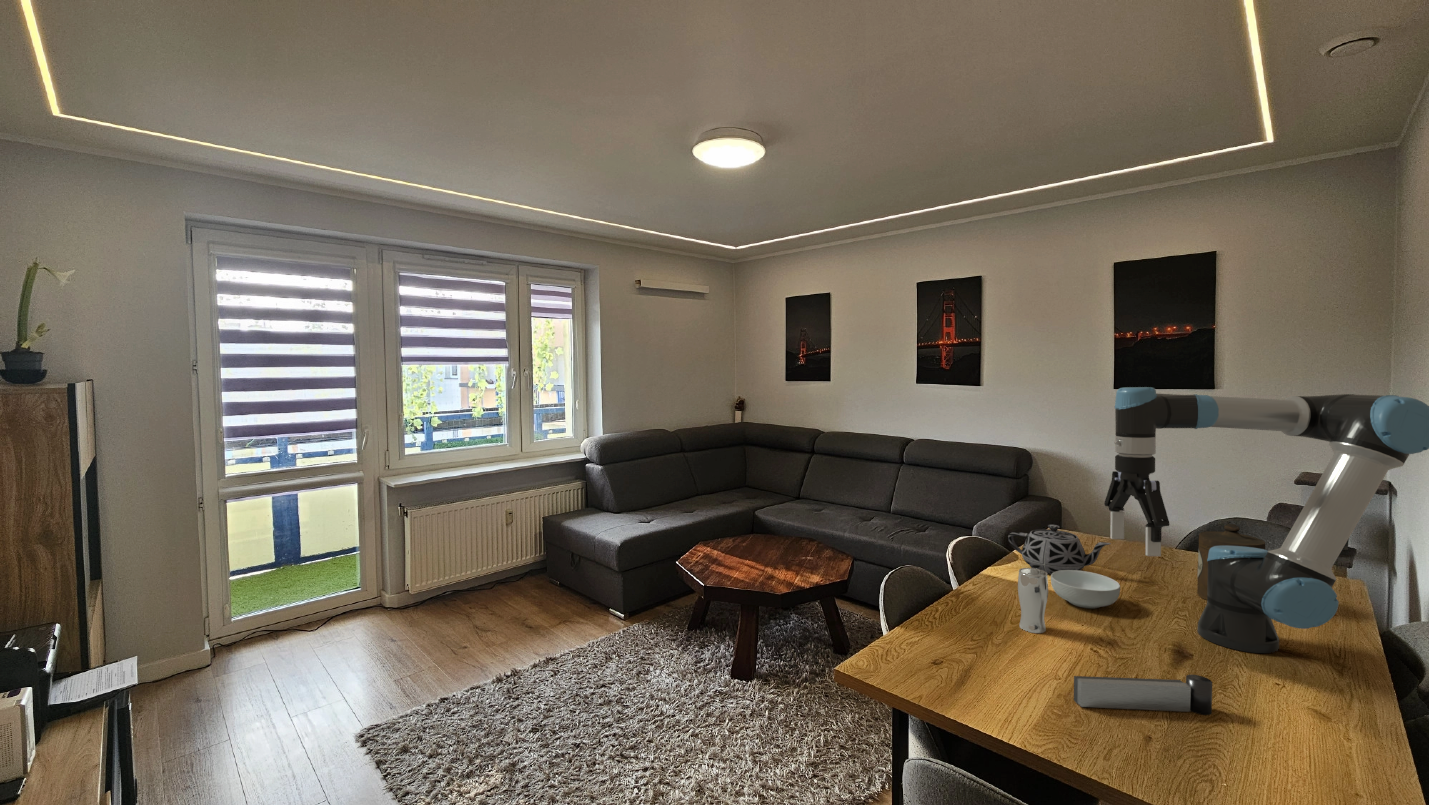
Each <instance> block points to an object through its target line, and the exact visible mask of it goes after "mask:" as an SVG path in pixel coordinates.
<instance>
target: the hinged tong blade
mask: <svg viewBox="0 0 1429 805" xmlns="http://www.w3.org/2000/svg"><path fill="white" fill-rule="evenodd" d="M1190 699H1191V687H1190V686H1189V685H1188V684H1187V683H1186V682H1183V683H1179V682H1154V681H1130V680H1106V679H1081V678H1078V697H1077V703H1078V704H1077V703H1076V704H1077V705H1079V706H1080V707H1081V708H1099V709H1100V708H1103V709H1104V708H1105V709H1123V710H1124V709H1125V710H1141V711H1142V710H1144V711H1145V710H1146V711H1148V710H1149V711H1164V712H1165V711H1167V712H1187V713H1188V712H1191V711H1190Z"/></svg>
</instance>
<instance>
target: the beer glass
mask: <svg viewBox="0 0 1429 805" xmlns="http://www.w3.org/2000/svg"><path fill="white" fill-rule="evenodd" d="M1017 577H1018V578H1017V592H1018V593H1017V594H1018V595H1017V596H1018V601H1019V605H1020V621H1019V629H1021V630H1022V629H1023V631H1024V630H1025V631H1024V632H1027V631H1028V632H1027V633H1032V634H1043V633H1045V632H1046V631H1047V630H1046V627H1047V626H1046V624H1045V623H1046V622H1045V612H1046V608H1047V607H1046V606H1047V603H1048V596H1049V580H1048V578H1049V577H1048V573H1046V572H1045V571H1043V570H1040V569H1035V568H1031V567H1021V568H1020V569H1018V576H1017Z"/></svg>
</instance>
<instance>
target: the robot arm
mask: <svg viewBox="0 0 1429 805" xmlns="http://www.w3.org/2000/svg"><path fill="white" fill-rule="evenodd" d="M1114 401H1115V402H1114V409H1115V410H1114V411H1115V414H1114V416H1115V440H1114V441H1113V442H1114V444H1115V451H1114V452H1116V453H1117V454H1116V455H1115V457H1114V469H1115V470H1116V471H1115V470H1114V471H1112V472H1111V480H1110V483H1109V488H1108V490H1107V492H1106V496H1105V500H1104V506H1105V507H1108V511H1110V526H1109V527H1110V528H1109V529H1110V539H1112V540H1125V505H1127V502H1128V501H1129V499H1130V497H1133V498H1134V499H1135V501H1136V500H1137V501H1138V503H1139V506H1140V509H1141V511H1142V513H1143V515H1144V518H1145V520H1146V522H1147V523H1146V524H1145V556H1147V557H1162V550H1161V549H1162V528H1163V527H1164V528H1165V527H1170V520H1169V517H1168V514H1167V510H1166V506H1165V502H1164V499H1163V496H1162V492H1161V483H1160V480H1151V478H1150V475H1151V474H1155V473H1156V457H1155V456H1153V455H1156V453H1157V452H1156V451H1157V450H1156V449H1157V448H1156V447H1157V446H1156V444H1157V443H1156V439H1157V438H1156V437H1157V436H1156V435H1157V434H1156V431H1157V429H1158V430H1159V429H1194V430H1197V429H1204V428H1206V429H1207V428H1223V429H1236V430H1237V429H1238V430H1256V431H1274V432H1275V431H1276V432H1281V433H1282V434H1285V436H1290V437H1302V438H1309V439H1314V440H1320V441H1325V442H1329V443H1328V445H1329V446H1330V448H1331V450H1332V452H1333V455H1332V457H1331V458H1330V461H1329V462H1328V464H1327V465H1326V467H1325V469H1324V470H1323V473H1322V474H1321V476H1320V478H1319V480H1318V481H1317V482H1316V485H1315V487H1314V489H1313V490H1312V492H1311V493H1310V495H1309V497H1308V498H1307V501H1306V502H1305V504H1304V506H1303V508H1302V509H1301V511H1300V513H1299V514H1298V516H1297V518H1296V520H1295V522H1294V523H1293V525H1292V527H1291V529H1290V530H1289V532H1288V534H1287V536H1286V538H1285V539H1284V541H1283V543H1282V545H1281V546H1280V547H1279V548H1275V549H1271V550H1267V549H1265V550H1264V549H1259V548H1252V547H1243V546H1214V547H1212V548H1210V550H1209V554H1208V559H1207V562H1208V586H1207V600H1206V604H1205V607H1204V609H1203V611H1202V612H1201V615H1200V617H1199V619H1198V621H1197V633H1198V635H1199V636H1200V637H1202V638H1203V639H1204V640H1207V641H1209V642H1211V643H1213V644H1215V645H1218V646H1221V647H1224V648H1228V649H1231V650H1236V651H1240V652H1245V653H1255V654H1271V652H1272V653H1275V651H1276V652H1278V651H1279V650H1278V649H1280V638H1279V636H1278V634H1277V630H1276V628H1275V626H1274V625H1275V624H1274V623H1273V621H1276V622H1277V623H1280V624H1283V625H1286V626H1288V627H1291V628H1295V629H1301V630H1303V629H1306V630H1307V629H1311V628H1317V627H1320V626H1322V625H1324V624H1326V623H1328V622H1329V621H1330V620H1331V619H1332V618H1333V617H1334V616H1335V615H1336V614H1337V611H1338V608H1339V600H1338V599H1337V597H1338V595H1337V593H1336V591H1335V590H1334V589H1333V586H1334V585H1335V583H1336V582H1337V581H1336V580H1337V577H1336V576H1335V574H1334V573H1333V569H1332V568H1333V567H1334V564H1335V563H1336V561H1337V560H1338V557H1339V556H1340V554H1341V552H1342V550H1343V549H1344V547H1345V545H1346V544H1347V542H1348V540H1349V538H1350V537H1351V535H1352V533H1353V531H1354V530H1355V529H1356V527H1357V525H1358V524H1359V521H1360V520H1361V518H1362V516H1363V515H1364V513H1365V511H1366V509H1367V507H1368V506H1369V504H1370V502H1371V501H1372V499H1373V497H1374V496H1375V494H1376V492H1377V490H1378V489H1379V487H1380V485H1382V482H1383V480H1384V478H1385V476H1386V475H1387V473H1388V472H1389V471H1390V470H1392V469H1396V468H1399V467H1400V468H1401V467H1403V466H1404V465H1405V463H1406V461H1407V460H1408V458H1409V456H1410V455H1414V454H1419V453H1422V452H1424V451H1427V450H1429V405H1428V404H1427V403H1425V402H1424V401H1422V400H1419V399H1416V398H1414V397H1408V396H1399V395H1393V394H1391V395H1390V394H1389V395H1381V394H1380V395H1376V394H1349V393H1346V394H1345V393H1344V394H1343V393H1342V394H1328V395H1326V394H1325V395H1310V396H1309V395H1307V396H1306V395H1305V396H1304V395H1303V396H1302V395H1300V396H1299V395H1290V396H1287V397H1285V398H1284V399H1280V398H1279V399H1277V398H1258V397H1257V398H1256V397H1237V396H1235V397H1234V396H1217V395H1216V396H1215V395H1214V396H1213V395H1208V394H1207V395H1206V394H1195V393H1194V394H1173V393H1172V394H1171V393H1157V390H1156V388H1155V387H1151V386H1150V387H1149V386H1148V387H1147V386H1144V387H1143V386H1142V387H1141V386H1138V387H1136V386H1135V387H1133V386H1132V387H1131V386H1129V387H1128V386H1127V387H1120V388H1118V389H1117V391H1116V393H1115V400H1114Z"/></svg>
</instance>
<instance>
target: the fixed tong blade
mask: <svg viewBox="0 0 1429 805" xmlns="http://www.w3.org/2000/svg"><path fill="white" fill-rule="evenodd" d="M1078 678H1081V679H1106V680H1130V681H1154V682H1179V683H1184V681H1182V680H1180V679H1168V678H1167V679H1165V678H1164V679H1163V678H1160V679H1159V678H1141V677H1140V678H1136V677H1114V676H1113V677H1112V676H1109V677H1108V676H1087V675H1086V676H1084V675H1083V676H1081V675H1074V676H1073V701H1074V702H1075V703H1076V704H1077V705H1079V704H1078V703H1077V697H1078ZM1185 683H1187V684H1188V685H1189V686H1190V687H1191V699H1190V712H1191V713H1195V714H1197V715H1202V716H1210V715H1212V712H1213V711H1212V710H1213V709H1212V708H1213V707H1212V705H1213V681H1212V680H1211V679H1209V678H1207V677H1205V676H1202V675H1198V674H1187V675H1185Z"/></svg>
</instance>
